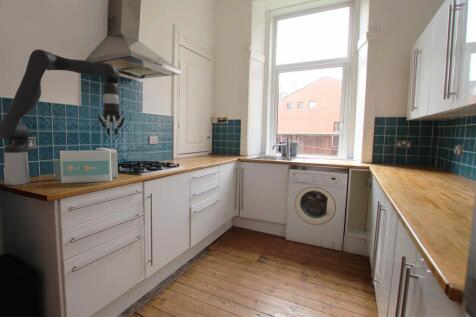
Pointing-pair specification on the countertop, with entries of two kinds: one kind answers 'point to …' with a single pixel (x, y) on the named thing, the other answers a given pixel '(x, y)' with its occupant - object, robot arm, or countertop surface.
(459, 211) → the countertop surface
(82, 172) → the panel
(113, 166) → the rounded white slab
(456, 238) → the countertop surface
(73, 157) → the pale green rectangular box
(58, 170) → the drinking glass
